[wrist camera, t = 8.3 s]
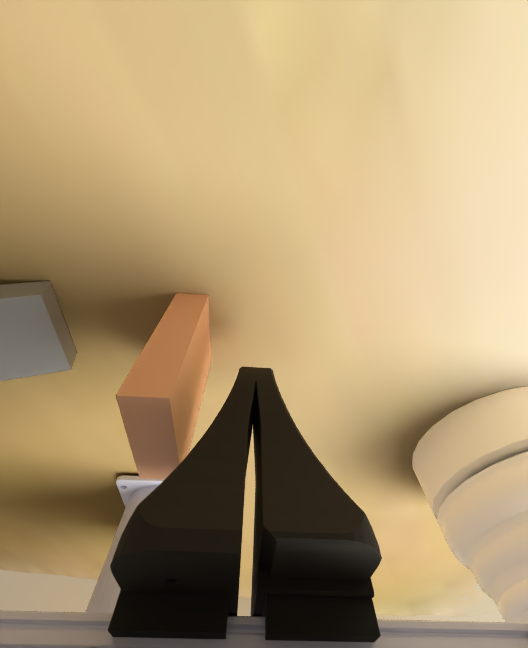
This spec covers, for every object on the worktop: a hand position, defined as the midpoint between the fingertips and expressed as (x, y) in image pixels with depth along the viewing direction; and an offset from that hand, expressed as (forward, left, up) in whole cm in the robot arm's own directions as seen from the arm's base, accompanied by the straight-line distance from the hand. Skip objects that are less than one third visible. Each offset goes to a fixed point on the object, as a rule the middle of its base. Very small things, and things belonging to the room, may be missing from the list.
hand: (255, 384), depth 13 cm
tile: (0, +3, -4) cm, 5 cm away
